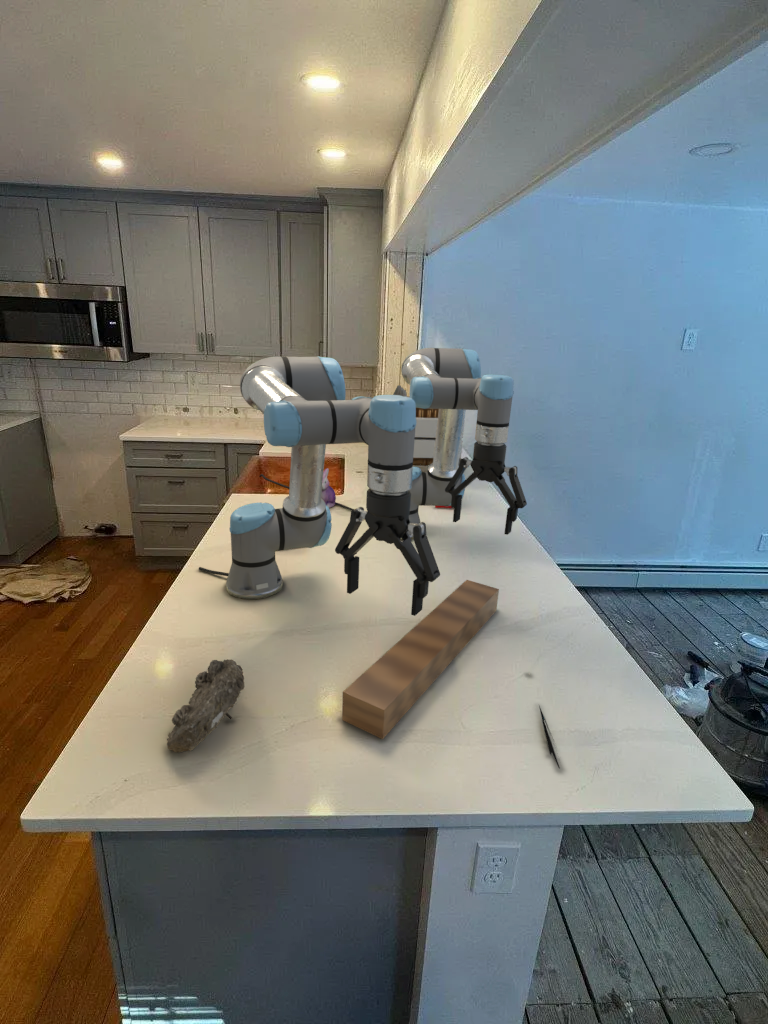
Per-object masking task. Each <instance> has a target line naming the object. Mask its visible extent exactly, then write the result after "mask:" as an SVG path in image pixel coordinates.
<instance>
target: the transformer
mask: <svg viewBox="0 0 768 1024" xmlns="http://www.w3.org/2000/svg"><path fill="white" fill-rule="evenodd" d="M407 394H408V393H407V390H406V389H404V388H403V387H402V385H399V384H398V385H397V386H396V388H395V390H394V392H393V394H392V395H400V396H404V397H405V396H406V397H410V395H407ZM438 412H439V409H422V408H416V428H415V441H414V454H413V467H428V466H429V465H430V464H432V463H433V457H434V448H435V439H436V430H437V421H438ZM464 422H465V419H464ZM464 429H465V425H464V426H463V433H462V440H461V448H460V455H459V463H460V460H461V459H463V458H462V453H463V442H464V441H463V438H464V431H465V430H464ZM459 463H458V466H459Z"/></svg>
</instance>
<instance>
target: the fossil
mask: <svg viewBox="0 0 768 1024" xmlns="http://www.w3.org/2000/svg"><path fill="white" fill-rule="evenodd" d="M243 670H244V669H243V667H242V665H240V664H237V662H236V661H235V660H234V659H232V658H231V659H227V658H226V659H224V660H223V661H222V660H217V659H212V660H211V661H210V663H209V665H208V666H207V671H201V672H199V673H198V674H197V675H196V676H195V680H194V684H195V685H194V687H195V689H194V690H193V693H192V694H191V697H190V698H189V700H188V704H184V705H182V706H181V707H180V709H177V710H176V711H175V713H174V715H173V716H172V718H171V723H172V724H173V727H172V730H171V731H170V732H168V734H167V738H166V741H167V742H166V745H167V749H168V750H169V751H173V752H174V753H176V754H178V753H182V752H188V751H189V752H192V751H193V750H195V748H196V747H197V746H199V744H200V743H201V742H203V741H204V740H205V739H206V738H207V737H208V736H209V735H210V734H211V733H212V732H214V730H215V729H217V727H218V726H219V724H220V722H221V721H222V720H223V719H224V718H225V716H226V717H227V719H229V720H233V717H232V715H230V714H229V710H230V709H231V708H234V706H235V704H236V703H237V702H238V699H239V697H240V695H241V693H242V691H243V690H245V689H244V688H245V675H244V671H243Z"/></svg>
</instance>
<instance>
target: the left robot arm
mask: <svg viewBox="0 0 768 1024" xmlns="http://www.w3.org/2000/svg"><path fill="white" fill-rule="evenodd" d="M239 389H240V394H241V396H242V398H243V400H244V401H245V402H246V403H247V405H249V406H250V407H251V408H252V409H254V410H256V411H257V410H258V411H260V412H261V414H263V429H264V435H265V438H266V442H267V443H268V444H269V445H271V446H272V447H286V448H291V451H290V470H289V486H288V487H289V489H288V495H287V496H286V497H285V498H284V499H283V501H282V507H279V508H275V507H274V505H273V504H272V503H269V502H252V503H247V504H244V505H242V506H239V507H237V508H236V509H235V510H234V511H232V512H231V514H230V518H229V532H230V547H231V548H230V549H231V565H230V568H229V572H224V571H217V570H212V569H209V568H205V567H201V566H199V567H198V571H201V572H203V573H208V574H212V575H218V576H223V577H227V578H226V581H225V585H226V586H225V587H226V591H227V593H228V594H229V595H230V596H232V597H235V598H238V599H243V600H260V599H265V598H266V599H267V598H269V597H271V596H274V595H277V593H279V592H280V591H281V590H282V588H283V586H284V585H283V576H282V573H281V571H280V569H279V566H278V563H277V561H276V552H281V551H282V552H283V551H291V550H299V549H300V550H301V549H314V548H315V547H322V546H324V545H325V544H326V543H327V542H328V541H329V539H330V536H331V533H332V527H333V525H332V512H331V509H330V508H328V506H326V504H325V502H324V500H323V499H321V492H322V481H323V472H324V471H325V469H324V468H325V458H326V445H341V444H366V445H367V479H366V480H367V481H366V486H367V488H368V489H367V490H366V499H365V500H366V502H365V503H366V504H365V509H366V510H365V509H364V507H363V506H359V507H357V508H354V510H352V511H351V510H350V517H349V521H348V524H347V526H346V527H345V530H344V531H343V533H342V535H341V537H340V538H339V541H338V543H337V544H336V546H335V548H334V552H335V554H336V555H341V556H342V558H343V560H344V561H343V562H344V563H343V572H344V574H345V575H346V576H347V578H346V593H347V594H349V595H351V594H352V593H354V592H355V591H357V590H359V584H360V583H359V582H360V580H359V579H360V556H358V555H357V554H358V553H359V552H360V551H361V550H362V549H363V548H364V547H365V546H366V545H367V544H368V543H369V542H370V541H371V540H372V539H373V538H374V539H375V540H376V541H379V542H385V543H387V544H390V545H394V546H395V548H396V549H397V550H399V551H400V553H401V555H402V556H403V558H404V559H405V561H406V563H407V564H408V566H409V569H411V571H412V573H413V574H414V576H415V579H414V580H413V582H412V598H411V612H410V614H411V616H414V617H416V616H417V615H418V614H419V613H420V612H421V611H423V605H424V599H425V598H426V597H427V596H428V594H429V583H432V582H434V581H436V580H437V579H438V578H439V577H441V572H440V569H439V566H438V563H437V561H436V557H435V556H434V555H435V554H434V552H433V549H432V547H431V544H430V542H429V541H430V540H429V538H428V536H427V535H428V534H427V524H426V523H425V522H424V521H420V522H421V523H419V524H416V523H410V520H409V513H410V504H411V492H410V491H409V490H410V489H411V488H412V469H413V467H414V466H413V454H414V441H415V428H416V404H415V401H414V400H413V399H412V398H410V397H406V396H405V397H404V396H400V395H393V394H379V395H374V396H373V397H372V396H371V397H370V396H355V397H353V398H351V399H346V396H347V395H346V383H345V377H344V373H343V370H342V367H341V365H340V363H339V362H338V361H337V360H336V359H335V358H333V357H323V356H319V355H317V356H268V357H265V358H261V359H259V360H257V361H255V362H253V363H251V364H250V365H249V366H248V367H247V368H246V369H245V370H244V371H243V373H242V375H241V377H240V382H239ZM364 521H365V523H366V525H367V527H368V528H367V529H366V530H365V532H364V533H362V535H361V536H360V537H359V538H358V539H357V540H356V541H355V542H354V543H353V544H352V545H351V543H352V541H353V539H354V538H355V536H356V534H357V532H358V530H359V528H360V526H361V525H362V523H363V522H364ZM408 530H409V531H410V532H411V536H413V538H414V539H411V538H410V536H409V534H408V533H407V532H408ZM401 538H402V539H403V540H400V539H401ZM412 541H413V542H414V544H413V543H412ZM350 545H351V546H350ZM414 545H415V546H414Z"/></svg>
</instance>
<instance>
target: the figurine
mask: <svg viewBox="0 0 768 1024" xmlns="http://www.w3.org/2000/svg"><path fill="white" fill-rule="evenodd" d="M329 471H330V469H329V468H328V467H327V468H325V469H324V470H323V481H322V492H321V499H323V500H324V502H325V504H326V506H328V508H329V509H330V508H333V507H335V502H336V499H337V497H336V496H337V495H336V491H335V490H334V488H333V487H332V486H331V485H330V481H329V478H328V476H329Z"/></svg>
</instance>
